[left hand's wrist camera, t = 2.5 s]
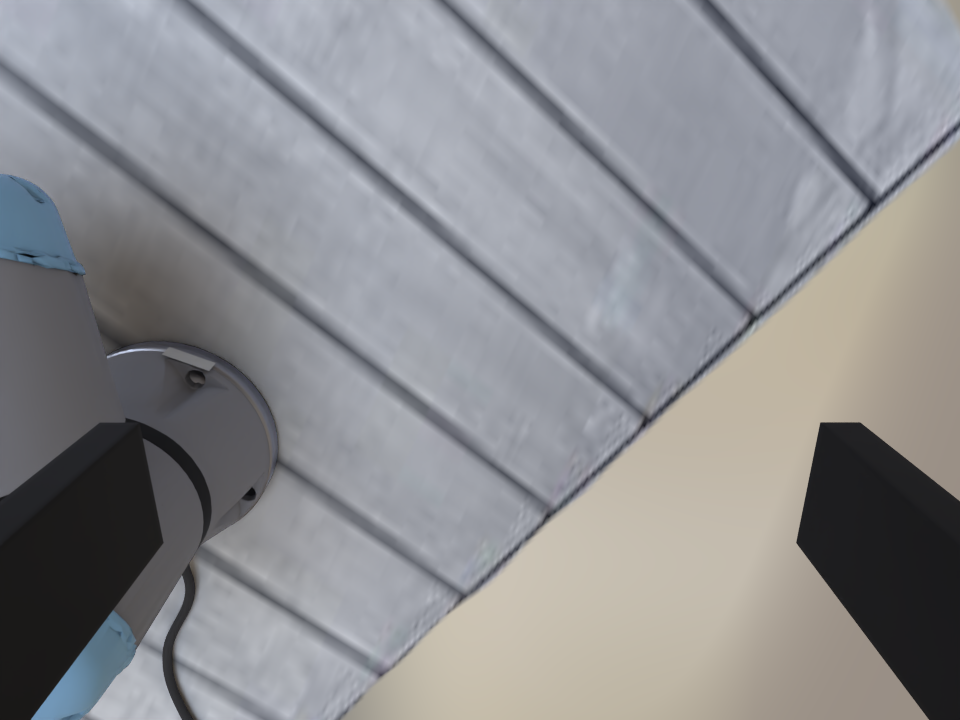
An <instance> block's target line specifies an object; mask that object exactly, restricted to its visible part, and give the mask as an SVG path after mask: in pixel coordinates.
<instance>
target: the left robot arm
mask: <svg viewBox="0 0 960 720" xmlns="http://www.w3.org/2000/svg"><path fill="white" fill-rule="evenodd" d="M82 275H85V270H84V268H83V266H82V265H81V264H80V263H79V262H77V261H76V258H75V256H74V254H73V251H72V248H71V246H70V243H69V240H68V238H67V235H66V232H65V229H64V227H63V224H62V221H61V219H60V216H59V213H58V211H57V208H56V206H55V204H54V203H53V201H52V200H51V198H50V197H49V196H48V195H47V194H46V193H45V192H44V191H43V190H42V189H40V188H39V187H38V186H36V185H35V184H33V183H31V182H29V181H27V180H24V179H22V178H19V177H16V176H11V175H5V174H0V720H80V719H81V718H82V717H83V716H84V715H85V714H87V713H88V712H89V711H90V710H91V709H92V708H93V707H94V705H95V704H96V703H97V702H98V700H99V699H100V698H101V696H102V695H103V693H104V692H105V691H106V689H107V688H108V687H109V685H110V684H111V682H112V681H113V680H114V678H115V677H116V676H117V675H118V674H119V673H121V671H122V670H123V669H124V668H126V667H127V666H128V665H129V664H130V662H131V661H132V659H133V657H134V655H135V652H136V649H137V647H138V646H139V644H140V642H141V641H142V639H143V637H144V636H145V634H146V633H147V631H148V629H149V628H150V626H151V624H152V623H153V621H154V620H155V618H156V616H157V615H158V613H159V611H160V610H161V608H162V606H163V605H164V603H165V602H166V600H167V598H168V597H169V595H170V593H171V592H172V590H173V589H174V587H175V585H176V584H177V582H178V580H179V579H180V577H181V575H182V576H183V579H184V583H185V598H184V602H183V605H182V608H181V610H180V612H179V614H178V616H177V618H176V619H175V621H174V623H173V625H172V626H171V628H170V630H169V632H168V634H167V637H166V639H165V642H164V647H163V671H164V677H165V681H166V685H167V688H168V690H169V693H170V696H171V698H172V700H173V702H174V704H175V707H176V709H177V711H178V713H179V715H180V717H181V718H182V720H193V718H192V717H191V715H190V714H189V712H188V710H187V708H186V706H185V704H184V702H183V700H182V698H181V695H180V693H179V691H178V688H177V685H176V682H175V679H174V674H173V668H172V648H173V643H174V640H175V637H176V635H177V633H178V631H179V629H180V627H181V626H182V624H183V622H184V620H185V619H186V617H187V615H188V613H189V611H190V609H191V606H192V603H193V600H194V594H195V583H194V579H193V575H192V572H191V569H190V566H189V562H190V561H191V559H192V558H193V556H194V554H195V552H196V551H197V549H198V548H199V546H200V545H201V544H202V543H204V542H205V541H207V540H209V539H210V538H212V537H213V536H215V535H216V534H218V533H219V532H221V531H222V530H224V529H226V528H227V527H229V526H230V525H232V524H234V523H235V522H237V521H238V520H240V519H241V518H242V517H244V516H245V515H246V514H247V513H248V512H249V511H250V510H251V509H252V508H253V507H254V506H255V504H256V503H257V502H258V500H259V499H260V497H261V495H262V494H263V492H264V490H265V488H266V487H267V485H268V483H269V481H270V479H271V477H272V475H273V472H274V469H275V466H276V461H277V454H278V439H277V431H276V427H275V423H274V420H273V417H272V414H271V412H270V410H269V408H268V406H267V404H266V402H265V400H264V399H263V397H262V396H261V394H260V393H259V391H258V390H257V389H256V387H255V386H254V385H253V384H252V383H251V382H250V381H249V380H248V379H247V378H246V377H245V376H244V375H243V374H242V373H241V372H240V371H239V370H237V369H236V368H235V367H234V366H232V365H231V364H229V363H228V362H226V361H225V360H223V359H221V358H219V357H218V356H216V355H214V354H212V353H209V352H207V351H205V350H202V349H199V348H196V347H193V346H190V345H186V344H181V343H175V342H164V341H155V342H143V343H138V344H133V345H129V346H126V347H123V348H120V349H118V350H116V351H114V352H112V353H110V354H108V355H107V356H106V353H105V349H104V346H103V343H102V339H101V336H100V333H99V329H98V326H97V323H96V319H95V316H94V313H93V309H92V306H91V303H90V299H89V296H88V293H87V289H86V286H85V283H84V279H83V276H82ZM796 543H797V544H798V546H799V547H800V548H801V550H802V551H803V552H804V554H805V555H806V556H807V558H808V559H809V560H810V562H811V563H812V564H813V566H814V567H815V568H816V570H817V571H818V572H819V574H820V575H821V576H822V578H823V579H824V580H825V582H826V583H827V584H828V586H829V587H830V588H831V590H832V591H833V592H834V594H835V595H836V596H837V598H838V599H839V600H840V602H841V603H842V604H843V606H844V607H845V608H846V609H847V611H848V612H849V614H850V615H851V616H852V618H853V619H854V620H855V622H856V623H857V624H858V626H859V627H860V628H861V630H862V631H863V632H864V634H865V635H866V636H867V638H868V639H869V640H870V642H871V643H872V644H873V646H874V647H875V648H876V650H877V651H878V652H879V654H880V655H881V656H882V658H883V659H884V660H885V662H886V663H887V664H888V666H889V667H890V668H891V669H892V671H893V672H894V673H895V675H896V676H897V678H898V679H899V680H900V681H901V683H902V684H903V686H904V687H905V688H906V690H907V691H908V692H909V694H910V695H911V696H912V697H913V699H914V700H915V701H916V703H917V704H918V705H919V707H920V708H921V709H922V711H923V712H924V713H925V715H926V716H927V717H928V719H929V720H960V501H959V500H957V499H956V498H955V497H954V496H952V495H951V494H950V493H949V492H947V491H946V490H945V489H943V488H942V487H941V486H940V485H938V484H937V483H936V482H935V481H933V480H932V479H931V478H930V477H928V476H927V475H926V474H925V473H923V472H922V471H921V470H919V469H918V468H917V467H916V466H914V465H913V464H912V463H911V462H909V461H908V460H907V459H906V458H904V457H903V456H902V455H900V454H899V453H898V452H897V451H895V450H894V449H893V448H892V447H890V446H889V445H888V444H887V443H885V442H884V441H883V440H882V439H880V438H879V437H878V436H877V435H875V434H874V433H873V432H871V431H870V430H869V429H868V428H866V427H865V426H864V425H863V424H861V423H820V427H819V432H818V437H817V442H816V447H815V452H814V457H813V462H812V467H811V472H810V477H809V482H808V487H807V492H806V497H805V502H804V507H803V512H802V517H801V522H800V527H799V532H798V537H797V542H796Z"/></svg>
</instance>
